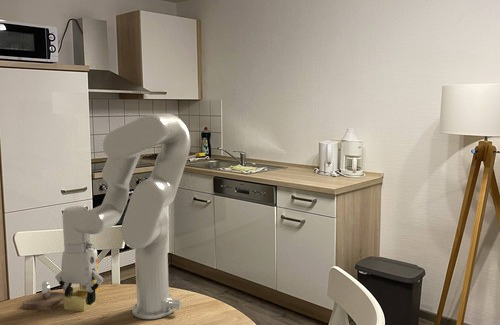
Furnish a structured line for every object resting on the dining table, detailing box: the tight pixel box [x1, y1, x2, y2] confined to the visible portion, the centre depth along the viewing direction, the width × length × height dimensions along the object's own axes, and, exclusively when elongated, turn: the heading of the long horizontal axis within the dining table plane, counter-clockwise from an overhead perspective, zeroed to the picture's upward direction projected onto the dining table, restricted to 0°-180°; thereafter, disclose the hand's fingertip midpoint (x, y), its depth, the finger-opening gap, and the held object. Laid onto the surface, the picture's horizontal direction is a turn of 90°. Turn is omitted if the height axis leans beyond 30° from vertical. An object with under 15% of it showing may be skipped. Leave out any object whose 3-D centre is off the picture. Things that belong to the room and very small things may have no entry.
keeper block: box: [22, 280, 65, 312], centre depth 150 cm, size 10×10×7 cm
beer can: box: [79, 246, 100, 294], centre depth 158 cm, size 6×6×15 cm
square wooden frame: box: [63, 288, 98, 312], centre depth 148 cm, size 7×7×4 cm
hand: (80, 301), depth 148 cm, fingers closed on square wooden frame, 7 cm apart
